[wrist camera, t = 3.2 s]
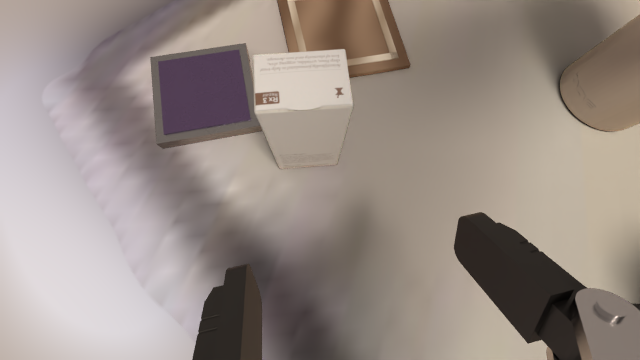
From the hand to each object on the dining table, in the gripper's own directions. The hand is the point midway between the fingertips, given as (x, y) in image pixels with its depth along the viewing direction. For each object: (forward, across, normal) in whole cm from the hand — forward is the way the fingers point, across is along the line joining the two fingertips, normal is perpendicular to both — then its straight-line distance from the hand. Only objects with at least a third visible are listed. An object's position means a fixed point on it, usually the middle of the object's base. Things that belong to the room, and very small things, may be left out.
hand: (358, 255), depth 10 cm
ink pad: (+24, +9, -2) cm, 26 cm away
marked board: (+28, -7, -6) cm, 30 cm away
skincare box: (+19, 0, +4) cm, 19 cm away
